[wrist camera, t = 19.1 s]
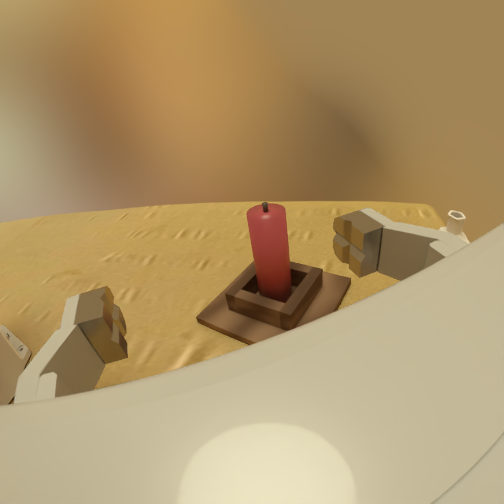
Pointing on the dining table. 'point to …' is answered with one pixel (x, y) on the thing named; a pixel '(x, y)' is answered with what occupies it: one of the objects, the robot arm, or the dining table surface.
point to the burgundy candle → (270, 250)
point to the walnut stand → (273, 304)
